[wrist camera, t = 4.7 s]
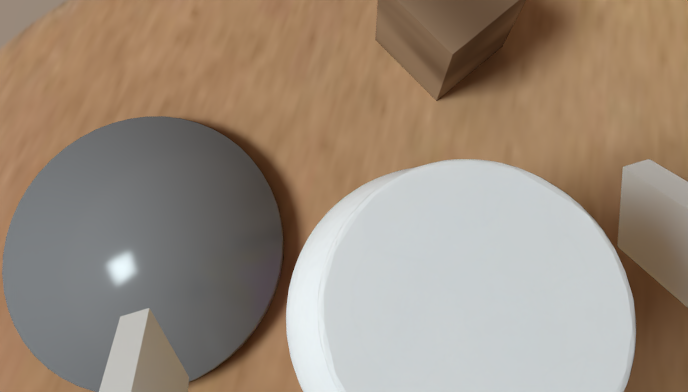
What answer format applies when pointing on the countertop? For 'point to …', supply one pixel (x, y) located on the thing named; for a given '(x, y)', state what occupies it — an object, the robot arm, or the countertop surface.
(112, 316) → the slate coaster
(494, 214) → the supplement bottle
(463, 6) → the walnut block
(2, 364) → the countertop surface
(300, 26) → the countertop surface
